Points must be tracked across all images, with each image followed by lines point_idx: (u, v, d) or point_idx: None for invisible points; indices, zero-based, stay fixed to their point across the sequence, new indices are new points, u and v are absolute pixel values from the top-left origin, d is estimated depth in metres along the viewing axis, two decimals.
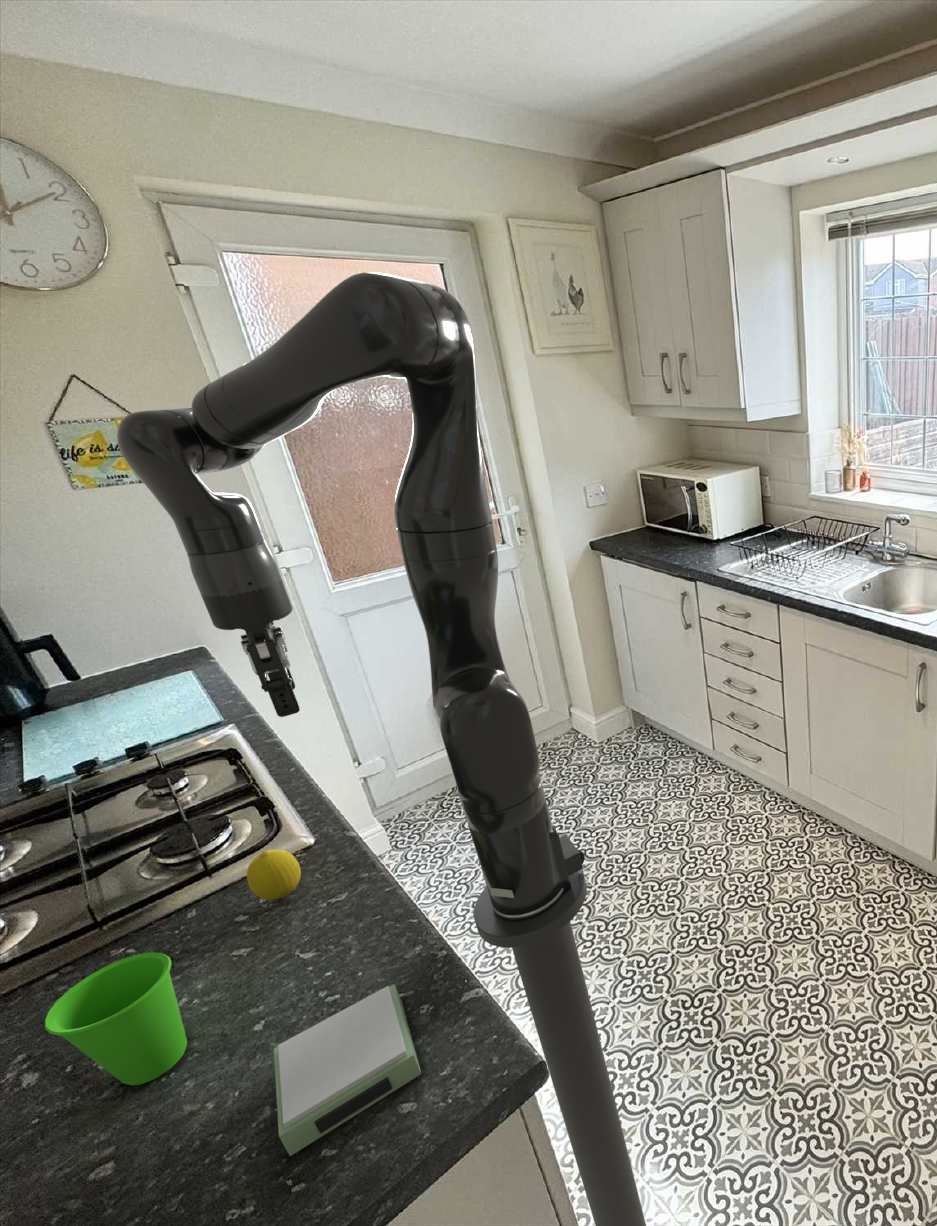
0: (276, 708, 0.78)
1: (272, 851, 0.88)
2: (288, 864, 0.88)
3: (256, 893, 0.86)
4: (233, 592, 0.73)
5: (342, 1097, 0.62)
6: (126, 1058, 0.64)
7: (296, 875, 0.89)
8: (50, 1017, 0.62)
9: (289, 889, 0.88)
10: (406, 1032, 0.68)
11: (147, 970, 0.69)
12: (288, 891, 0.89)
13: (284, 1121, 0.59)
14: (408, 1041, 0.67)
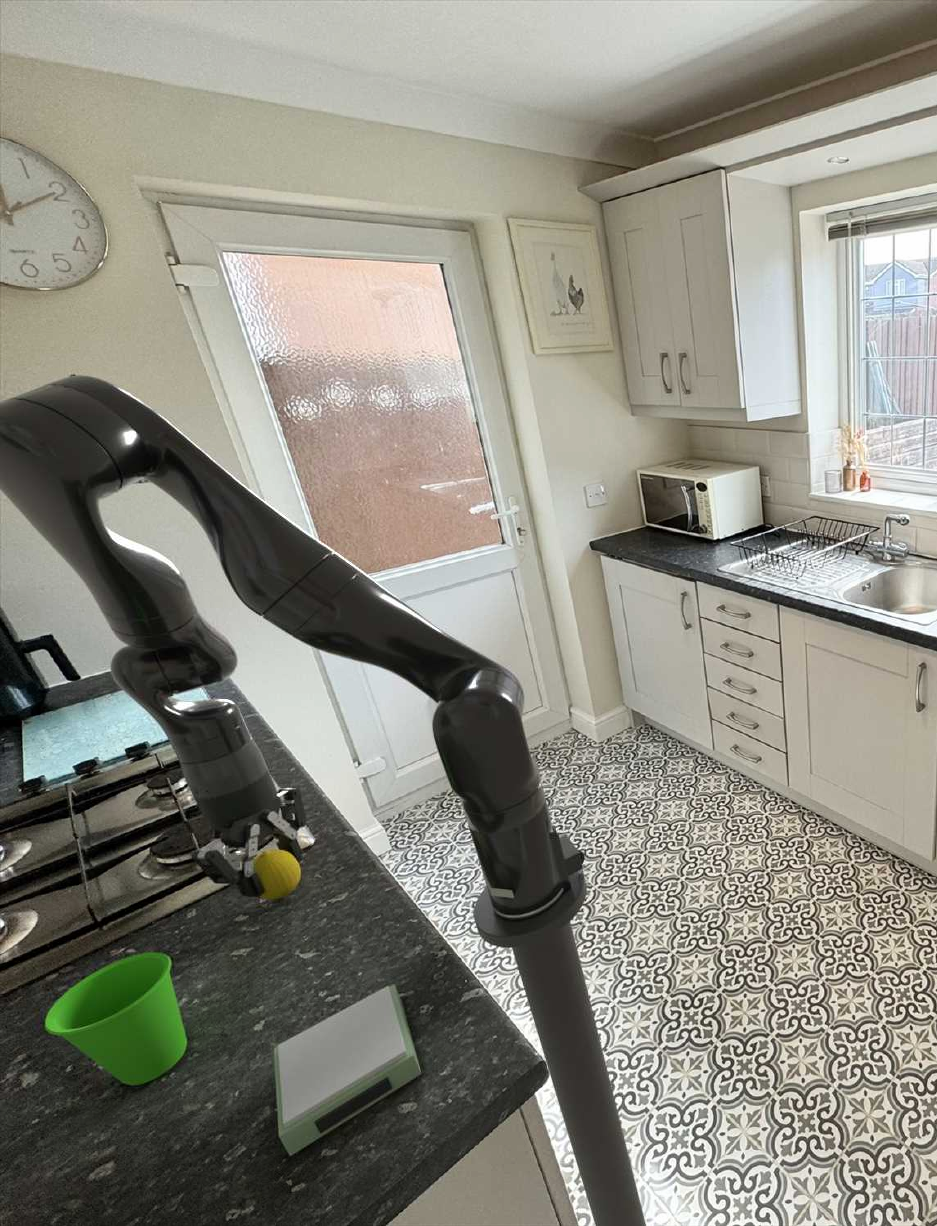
0: None
1: (272, 851, 0.88)
2: (288, 864, 0.88)
3: None
4: (196, 796, 0.79)
5: (342, 1097, 0.62)
6: (126, 1058, 0.64)
7: (296, 875, 0.89)
8: (50, 1017, 0.62)
9: (289, 889, 0.88)
10: (406, 1032, 0.68)
11: (147, 970, 0.69)
12: (288, 891, 0.89)
13: (284, 1121, 0.59)
14: (408, 1041, 0.67)
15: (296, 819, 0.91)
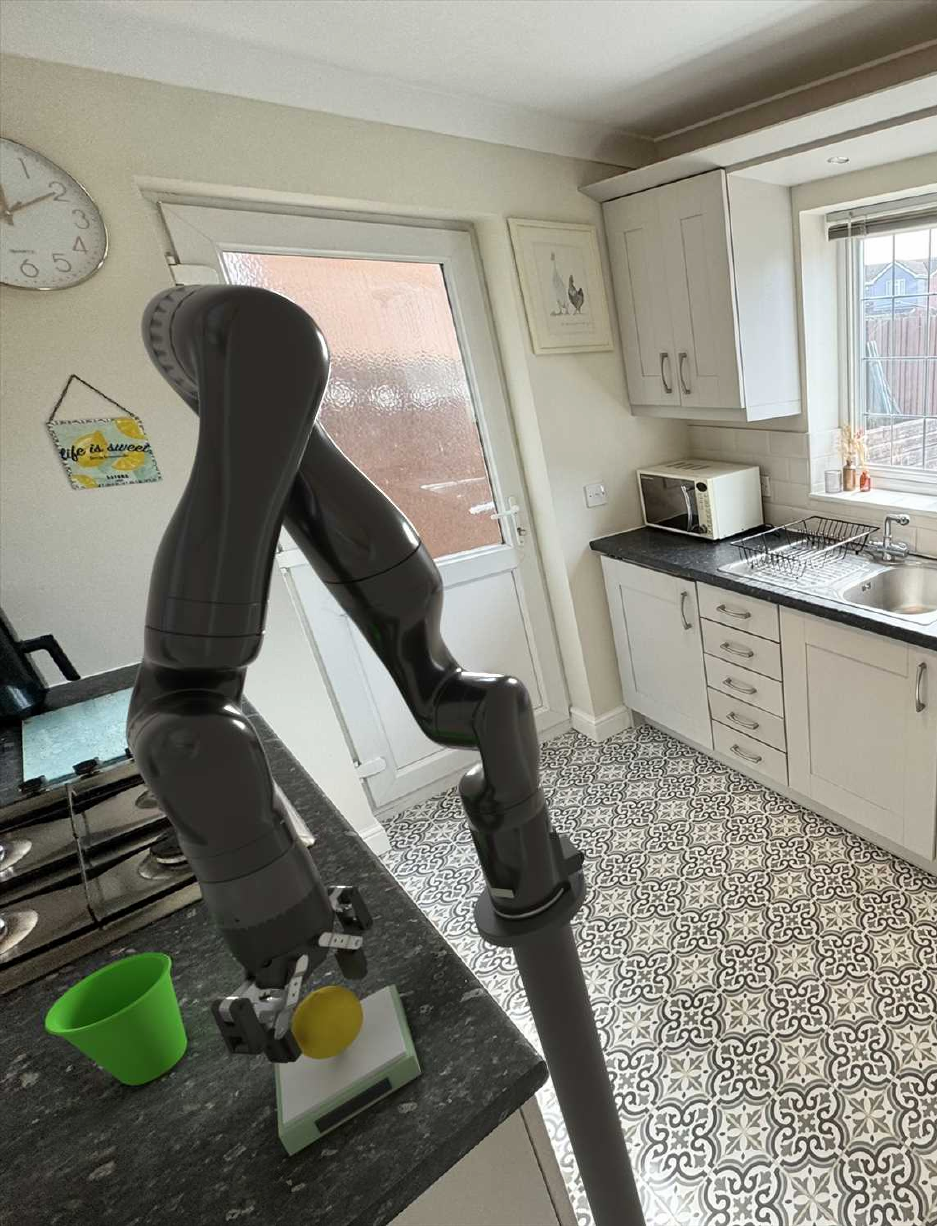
0: None
1: (326, 991, 0.63)
2: (348, 1009, 0.63)
3: (305, 1053, 0.62)
4: (221, 926, 0.55)
5: (342, 1097, 0.62)
6: (126, 1058, 0.64)
7: (358, 1021, 0.64)
8: (50, 1017, 0.62)
9: (349, 1043, 0.64)
10: (406, 1032, 0.68)
11: (147, 970, 0.69)
12: (348, 1045, 0.64)
13: (284, 1121, 0.59)
14: (408, 1041, 0.67)
15: (359, 923, 0.67)
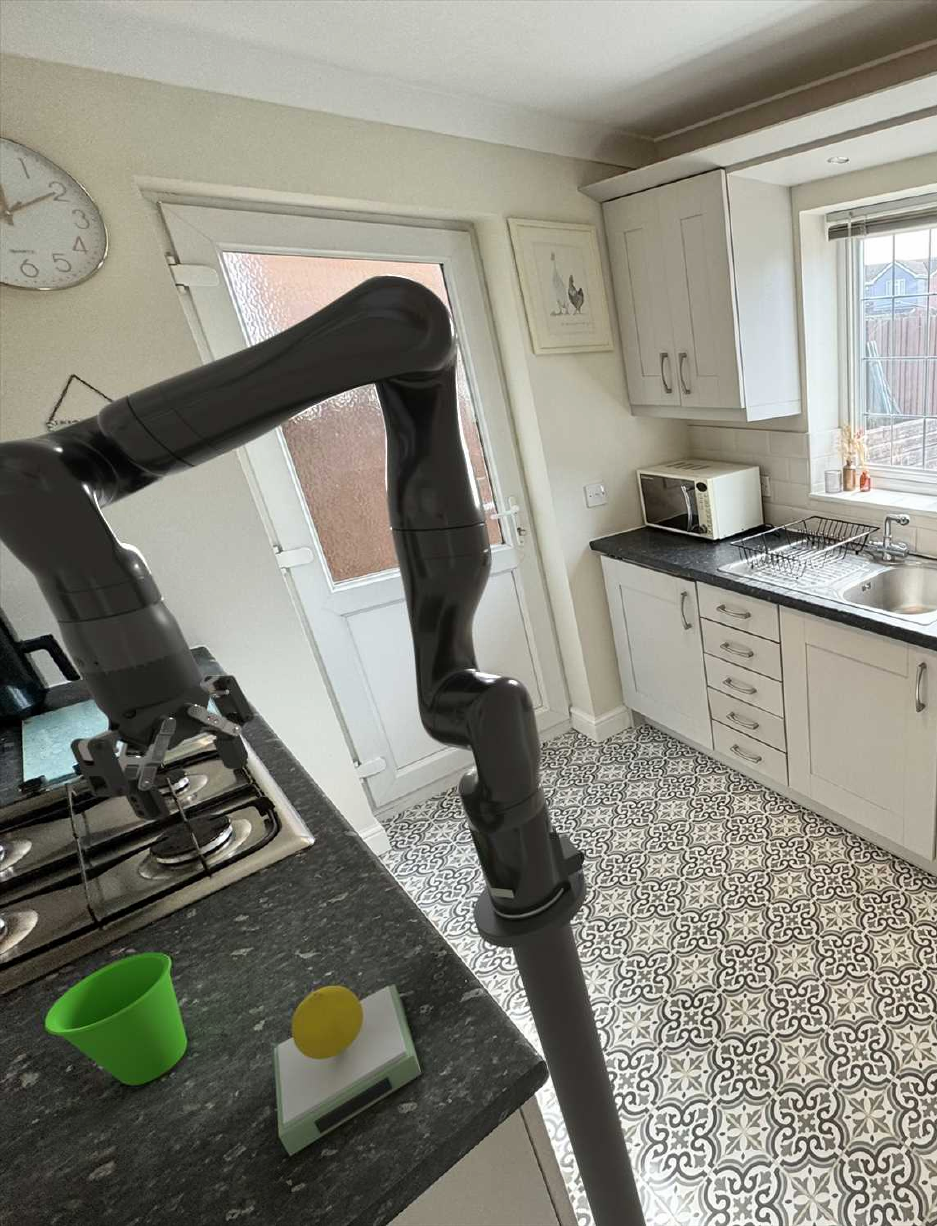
0: None
1: (326, 991, 0.63)
2: (348, 1009, 0.63)
3: (305, 1053, 0.62)
4: (82, 670, 0.58)
5: (342, 1097, 0.62)
6: (126, 1058, 0.64)
7: (358, 1021, 0.64)
8: (50, 1017, 0.62)
9: (349, 1043, 0.64)
10: (406, 1032, 0.68)
11: (147, 970, 0.69)
12: (348, 1045, 0.64)
13: (284, 1121, 0.59)
14: (408, 1041, 0.67)
15: (238, 713, 0.70)
